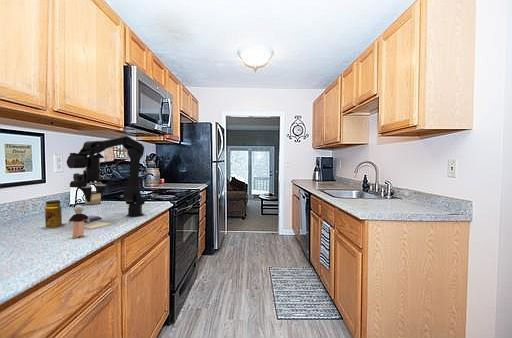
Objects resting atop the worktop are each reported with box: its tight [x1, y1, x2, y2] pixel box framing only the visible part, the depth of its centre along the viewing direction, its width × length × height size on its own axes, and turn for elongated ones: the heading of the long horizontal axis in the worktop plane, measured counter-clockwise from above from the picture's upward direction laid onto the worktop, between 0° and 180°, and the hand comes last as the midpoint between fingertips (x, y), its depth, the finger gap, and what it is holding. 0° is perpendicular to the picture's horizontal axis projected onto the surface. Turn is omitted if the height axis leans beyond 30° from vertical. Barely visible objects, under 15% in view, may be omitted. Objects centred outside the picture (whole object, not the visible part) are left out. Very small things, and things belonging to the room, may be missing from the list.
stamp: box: [84, 190, 102, 206], centre depth 131 cm, size 4×4×6 cm
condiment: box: [42, 199, 68, 230], centre depth 128 cm, size 7×8×12 cm
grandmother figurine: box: [66, 204, 91, 239], centre depth 110 cm, size 8×4×13 cm, turn 148°
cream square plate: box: [84, 220, 117, 231], centre depth 130 cm, size 13×12×1 cm
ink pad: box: [71, 215, 102, 224], centre depth 140 cm, size 10×8×2 cm
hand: (93, 201), depth 131 cm, fingers closed on stamp, 4 cm apart
